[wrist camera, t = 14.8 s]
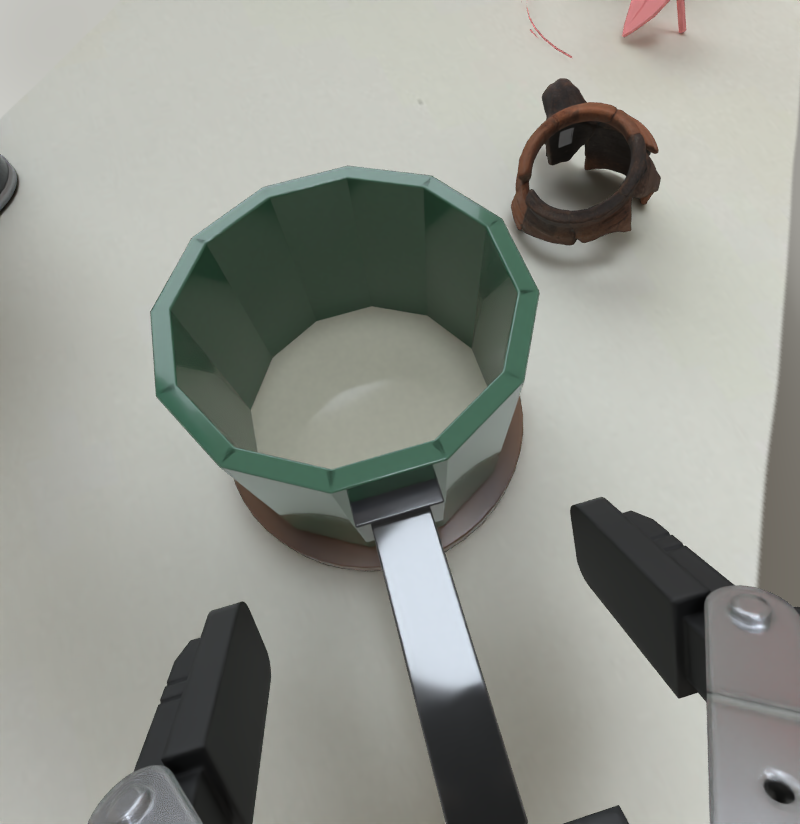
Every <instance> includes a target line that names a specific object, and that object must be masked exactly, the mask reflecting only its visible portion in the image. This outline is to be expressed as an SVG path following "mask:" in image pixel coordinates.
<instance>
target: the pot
mask: <svg viewBox="0 0 800 824" xmlns="http://www.w3.org/2000/svg"><path fill="white" fill-rule="evenodd" d="M538 299H539V290H538V288H537V286H536V284H535V282H534V280H533V278H532V276H531V274H530V272H529V270H528V268H527V266H526V264H525V263H524V261H523V259H522V257H521V255H520V253H519V251H518V249H517V247H516V245H515V243H514V241H513V239H512V237H511V235H510V233H509V231H508V229H507V227H506V225H505V223H504V221H503V220H502V218H500V217H498V216H497V215H495V214H494V213H492V212H490V211H489V210H487V209H485V208H484V207H482V206H480V205H479V204H477V203H476V202H474V201H472V200H471V199H469V198H467V197H466V196H464V195H463V194H461V193H459V192H458V191H456V190H454V189H453V188H451V187H449V186H448V185H446V184H445V183H443V182H441V181H440V180H438V179H436V178H435V177H433V176H430V175H422V174H414V173H405V172H397V171H389V170H380V169H372V168H364V167H355V166H345V167H341V168H337V169H333V170H329V171H325V172H321V173H317V174H313V175H309V176H305V177H301V178H297V179H293V180H289V181H285V182H281V183H277V184H273V185H270V186H266V187H263V188H261V189H260V190H258V191H257V192H255V193H254V194H253V195H251V196H250V197H248V198H247V199H246V200H244V201H243V202H241V203H240V204H238V205H237V206H236V207H234V208H233V209H231V210H230V211H229V212H227V213H226V214H224V215H223V216H222V217H220V218H219V219H217V220H216V221H215V222H213V223H212V224H210V225H209V226H208V227H206V228H205V229H203V230H202V231H201V232H199V233H198V234H196V235H195V236H194V237H193V238H191V240H190V242H189V244H188V246H187V247H186V249H185V251H184V253H183V255H182V256H181V258H180V260H179V262H178V263H177V265H176V267H175V269H174V271H173V272H172V274H171V276H170V278H169V280H168V281H167V283H166V285H165V287H164V289H163V290H162V292H161V294H160V296H159V297H158V299H157V301H156V303H155V305H154V306H153V308H152V310H151V311H150V313H151V329H152V344H153V359H154V374H155V389H156V397H157V398H158V399H159V400H160V402H161V403H162V404H163V405H164V406H165V407H166V408H167V409H168V410H169V412H170V413H171V414H172V415H173V416H174V417H175V418H176V419H177V420H178V422H179V423H180V424H181V425H182V426H183V427H184V428H185V429H186V430H187V432H188V433H189V434H190V435H191V436H192V437H193V438H194V439H195V440H196V442H197V443H198V444H199V445H200V446H201V447H202V448H203V449H204V450H205V452H206V453H207V454H208V455H209V456H210V457H211V458H212V459H213V460H214V462H215V463H216V464H217V465H218V466H219V467H220V468H221V469H222V470H224V471H225V472H226V473H227V474H229V475H230V476H231V477H232V478H234V479H235V480H236V481H238V482H239V483H240V484H241V485H243V486H244V487H245V488H246V489H248V490H249V491H250V492H251V493H253V494H254V495H255V496H256V497H258V498H259V499H260V500H261V501H263V502H264V503H265V504H266V505H268V506H269V507H270V508H271V509H273V510H274V511H275V512H276V513H278V514H279V515H280V516H281V517H283V518H284V519H285V520H286V521H288V522H289V523H290V524H291V525H293V526H294V527H295V528H296V529H299V530H303V531H307V532H311V533H315V534H319V535H323V536H326V537H330V538H334V539H338V540H342V541H346V542H350V543H354V544H358V545H362V546H366V547H373V546H376V548H377V552H378V556H379V560H380V564H381V568H382V572H383V576H384V579H385V583H386V587H387V591H388V595H389V599H390V603H391V607H392V611H393V615H394V619H395V623H396V627H397V631H398V635H399V639H400V643H401V647H402V651H403V655H404V659H405V663H406V667H407V671H408V675H409V679H410V683H411V687H412V691H413V695H414V699H415V703H416V707H417V711H418V715H419V719H420V723H421V727H422V731H423V734H424V738H425V742H426V746H427V750H428V754H429V758H430V762H431V766H432V770H433V774H434V778H435V782H436V786H437V790H438V794H439V798H440V802H441V806H442V810H443V814H444V818H445V822H446V824H528V820H527V816H526V813H525V810H524V807H523V804H522V800H521V797H520V794H519V791H518V787H517V784H516V781H515V778H514V775H513V771H512V768H511V765H510V762H509V758H508V755H507V752H506V749H505V746H504V742H503V739H502V736H501V733H500V729H499V726H498V723H497V720H496V717H495V713H494V710H493V707H492V704H491V700H490V697H489V694H488V691H487V688H486V684H485V681H484V678H483V675H482V671H481V668H480V665H479V662H478V658H477V655H476V652H475V649H474V646H473V642H472V639H471V636H470V633H469V629H468V626H467V623H466V620H465V617H464V613H463V610H462V607H461V604H460V600H459V597H458V594H457V591H456V588H455V584H454V581H453V578H452V575H451V571H450V568H449V565H448V562H447V559H446V555H445V552H444V549H443V546H442V542H441V539H440V536H439V533H438V530H437V527H440V526H444V525H445V524H446V523H447V522H448V521H449V519H450V518H451V517H452V516H453V515H454V514H455V513H456V512H457V511H458V510H459V509H460V508H461V507H462V506H463V504H464V503H465V502H466V501H467V500H468V499H469V498H470V497H471V496H472V495H473V494H474V493H475V492H476V490H477V489H478V488H479V487H480V486H481V485H482V484H483V483H484V482H485V481H486V480H487V479H488V478H489V476H490V475H491V474H492V473H493V472H494V470H495V467H496V464H497V461H498V458H499V455H500V452H501V449H502V446H503V443H504V440H505V437H506V434H507V431H508V428H509V425H510V422H511V419H512V416H513V413H514V410H515V407H516V404H517V401H518V398H519V395H520V392H521V389H522V386H523V383H524V380H525V374H526V368H527V363H528V357H529V351H530V345H531V340H532V334H533V328H534V322H535V316H536V311H537V305H538Z"/></svg>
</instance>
